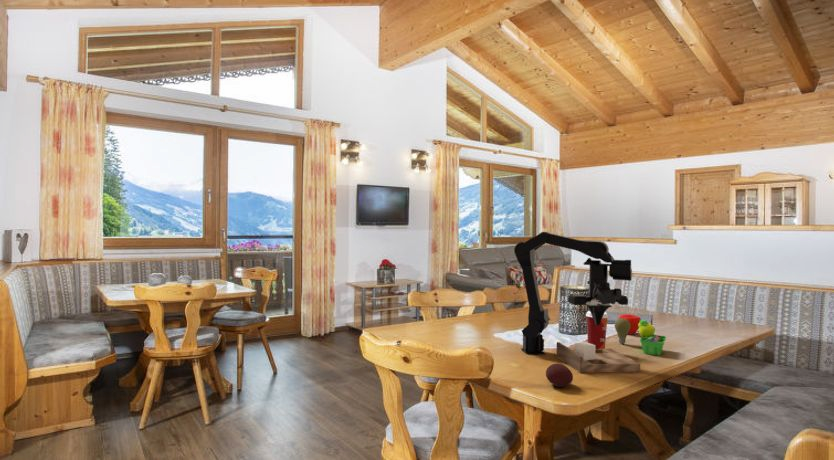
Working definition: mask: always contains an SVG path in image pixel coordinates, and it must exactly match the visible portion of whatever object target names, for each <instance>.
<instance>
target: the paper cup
mask: <svg viewBox="0 0 834 460" xmlns="http://www.w3.org/2000/svg"><path fill="white" fill-rule="evenodd" d="M585 316H586V330H587V331H586V333H587V343H590V344H593V345H595V349H606V341H607V339H606V338H607V329H608V328H607V327H608V325H607V324H608V318H609V316H608V313H607V312H606V311H605V313H604V315H603V317H602V320H601V322H600V325H596V324H595V322H594V319H593V317H592V314H591V312H590V310H588V311H587V312H586V314H585Z"/></svg>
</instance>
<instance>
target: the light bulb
mask: <svg viewBox="0 0 834 460" xmlns="http://www.w3.org/2000/svg"><path fill="white" fill-rule="evenodd" d="M614 329H615V331H616V333H617V338H618V343H619V344H620V345H624V344H625V343H626V340H627V339H626V338H627V336H628V334H627V333H628V331H629V330H630V323H629V321H628V320H626V319H624V318H619V317H618V318H617V319H616V320H615V322H614Z"/></svg>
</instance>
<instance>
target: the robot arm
mask: <svg viewBox="0 0 834 460" xmlns="http://www.w3.org/2000/svg"><path fill="white" fill-rule="evenodd" d="M546 244H548V245H552V246H556V247H559V248H560V247H561V248H564V249H569V250H573V251H577V252H580V253H581V254H583V255H586V256H588V258H587V259H586V261H584V262H583V266H584V265H585V266H589V275H588V276H589V277H588V278H589V279H588V280H587V282H586V283H587V284H588V292H587V294H586V295H587V296H586V295H583V294H580V293H576V294H574V293H573V294H569V295H568V298H567V303H569V304H571V305H575V306H587V308H588V311H590V312H591V314H592V317H593V319H594V322H595V324H596V325H600V322H601V320H602V317H603V315H604V313H605V312H606V311H607V310H608V309H610V308H612V306H613V305H615V304H616V303H617V304H618V305H620V306H624V305H626V306H628V305H629V298H628V296H627V295H623V294H622V289H621V288H613V289H612V288H611V287H610V286H611V285H610V282H609V281H608V275H609V277H611V278H612V280H613V281H627V282H628V281H629V282H630V281H631V282H632V279H633V278H632V277H633V268H632V260H631V259H615V258H614V257H613V256H612V254H611V253H610V251H609V246H608V244H607V243H606V242H605V241H600V240H599V241H597V240H584V239H583V240H582V239H577V238H572V237H567V236H563V235H559V234H555V233H550V232H549V231H541V232H540V233H539V234H537V235H536V236H533V237H532V238H530V239H528V240H527V241H522V242H521V241H520V242H518V243H517V244H515V247H514V255H515V257H516V260H517V262H518V264H519V266H520V267H521V271H522V275H523V276H522V277H523V282H524V286H525V291H526V292H525V293H526V297H527V301H528V307H529V308H528V315H527V319H528V321H527V322H528V324H527V325H526V326H525V327H524V328H523V329H521V332H522V347H520V350H521V351H523V352H524V353H525V354H526V355H541V354H542V355H543V354H545V352H544V350H545V339H544V338H543V336H544V335H543V334H542V333H543V331H544V330H545V329H546V328H547V327H548V326H549V323H550V322H549V321H550V320H551V318H550V316H549V309H548V308H545V309H544V307H543V305H542V301H541V297H540V290H539V286H538V281H537V275H536V269H535V259H536V257H535V256H536V255H535V254H536V253H535V251H536V250H538V249H539V248H541V247H543V246H544V245H546ZM592 258H593V259H592ZM594 259H595V260H594ZM602 261H603V262H604V263H603V262H602ZM608 267H609V270H608ZM608 271H609V273H608Z"/></svg>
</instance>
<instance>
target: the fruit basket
mask: <svg viewBox="0 0 834 460" xmlns="http://www.w3.org/2000/svg"><path fill="white" fill-rule="evenodd" d="M638 326H639V329H638V333H639V335H640V336H641V337H640V338H639V340H640V343H641V347H642V351H643V354H644V355H645V354H646V355H651V356H652V355H653V356H660V355H661V353H662V350H663V348H664V346H665V345H664V344H665V341H666V339H667V336H666V335H658V334H656V333H655V332H656V328H655V326H653V325H652V324H650V322H648V321H647V320H646V319H641V320H640V323H639V324H638Z"/></svg>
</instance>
